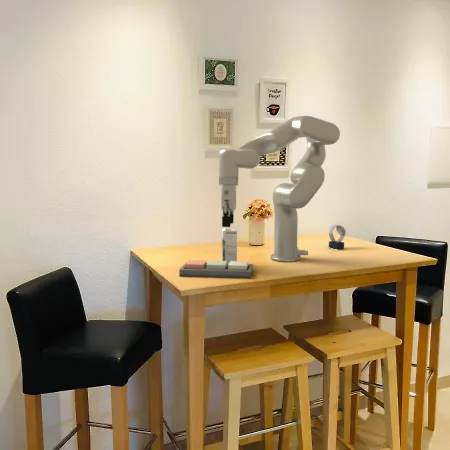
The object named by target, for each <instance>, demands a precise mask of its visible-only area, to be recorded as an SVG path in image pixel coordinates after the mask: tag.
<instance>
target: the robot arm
mask: <svg viewBox="0 0 450 450" xmlns="http://www.w3.org/2000/svg"><path fill="white" fill-rule="evenodd" d="M340 136H341V130H340V128H339V126H338V125H336V124H335V123H333V122H329V121H327V120H324V119H322V118H321V119H320V118H318V117H313V116H311V115H301V116H300V115H299V116H293V117H291V118H289V119H288V120H286V121H284V122H283V123H281V124H280V125H278V126H276V127H275V128H274V129H271V130H270V131H268V132H265V133H264V134H262V135H260V136H258V137H256V138H253V139H251V140H250V141H247V142H246V143H245V144H243V145H241V146H240V147H237V148H236V149H231V148H229V149H228V148H226V149H220V151H219V153H218V155H219V156H218V157H219V159H218V161H219V162H218V166H219V167H218V186H221V196H220V197H221V198H220V199H221V200H220V201H221V203H220V204H221V206H220V207H221V208H220V209H221V211H222V216H221V227H222V228H231V225H232V224H234V211H236V209H237V186H239V169H247V170H248V169H255V168H256V167H257V166H259V163H260V162H261V156H264V155H268V154H274V153H276V152H278V151H281V150H283V149H284V148H286V147H287V146H288V145H291V144H292V143H293V142H296V141H297V140H298V139H300V138H306V139H305V140H306V144H307V145H306V146H307V148H306V151H305V153H304V155H302V158H301V159H300V160H299V162H298V163H297V164H296V165H295V166H294V168H293V169H292V170H291V173H290V176H289V178H290V181H291V183H290V182H289V183H288V182H284V183H283V182H282V183H280V184H278V185H277V186H275V187H274V189H273V192H272V204H273V209H274V210H273V212H274V225H273V226H274V230H273V231H274V232H273V233H274V235H273V236H274V237H273V238H274V239H273V240H274V242H273V244H274V245H273V253H272V254H271V255H270V259H271V260H272V261H276V262H283V263H284V262H285V263H286V262H291V263H292V262H297V261H300V260H301V258H302V257H301V256H309V251H308V250H305V249H299V247H298V221H299V219H298V218H299V217H298V212H297V209H302V208H304V207H305V206H307V205H308V204H309V203H310V202H311V200H312V199H313V198H314V196H315V195H316V194H317V192H318V191H319V189H321V187H322V186H323V183H324V182H325V177H326V176H325V175H326V174H325V170H324V169H323V166H322V165H323V164H324V162H325V160H326V156H327V155H326V146H325V145H327V146H331V145H333V144H336V143H337V142H338V141H339V139H340Z"/></svg>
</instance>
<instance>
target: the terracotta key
mask: <svg viewBox="0 0 450 450" xmlns="http://www.w3.org/2000/svg"><path fill="white" fill-rule="evenodd" d="M186 262H187V263H186ZM186 262H185V263H186V264H185V263H184V264H185V268H198V269H203V268H204V267H205V266H206V263H207V260H202V259H201V260H199V259H198V260H197V259H195V260H194V259H193V260H192V259H188V260H187V261H186Z"/></svg>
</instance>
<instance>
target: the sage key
mask: <svg viewBox="0 0 450 450" xmlns="http://www.w3.org/2000/svg"><path fill="white" fill-rule="evenodd" d="M206 263H207V265H206V269H225V268H226V266H227V261H222V260H209V261H208V262H206Z"/></svg>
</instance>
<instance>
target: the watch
mask: <svg viewBox="0 0 450 450" xmlns="http://www.w3.org/2000/svg"><path fill="white" fill-rule="evenodd" d="M334 229H336V232H337V233H338V235H339V236H340V237H339V238H338V239H337V240H336V239H335V236H334V233H333V231H334ZM346 233H347V232H346V229H345V227H344V226H343V225H341V224H332V225H331V227H330V228H329V230H328V237H329V239H330V241H328V248H329V247H330V248H329V249H331V248H333V249H332V250H334V249H341V250H345V242H343V240H344V239H345V237H346Z"/></svg>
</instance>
